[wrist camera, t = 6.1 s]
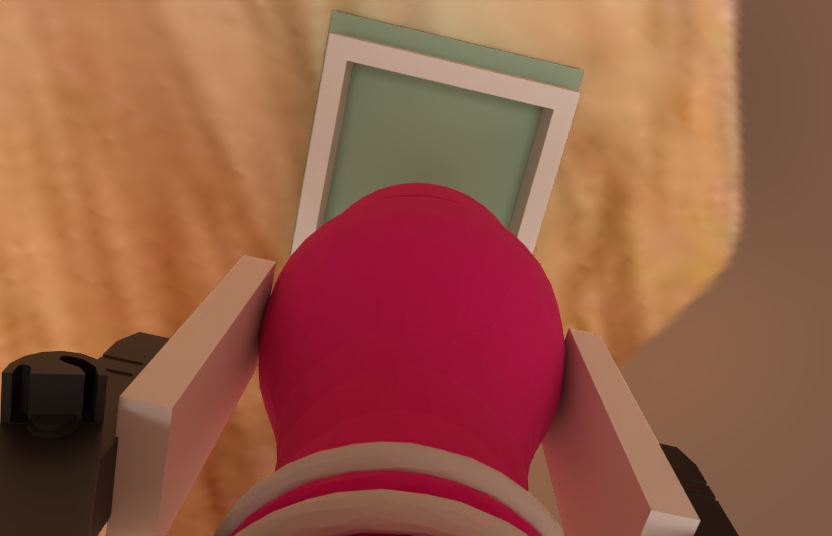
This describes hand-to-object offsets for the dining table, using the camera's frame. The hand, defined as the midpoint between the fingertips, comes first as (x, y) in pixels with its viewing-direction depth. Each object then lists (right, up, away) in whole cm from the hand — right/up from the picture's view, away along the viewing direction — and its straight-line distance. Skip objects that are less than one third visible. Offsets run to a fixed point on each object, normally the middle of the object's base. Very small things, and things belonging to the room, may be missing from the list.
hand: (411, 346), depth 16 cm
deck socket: (+1, +7, +21) cm, 22 cm away
